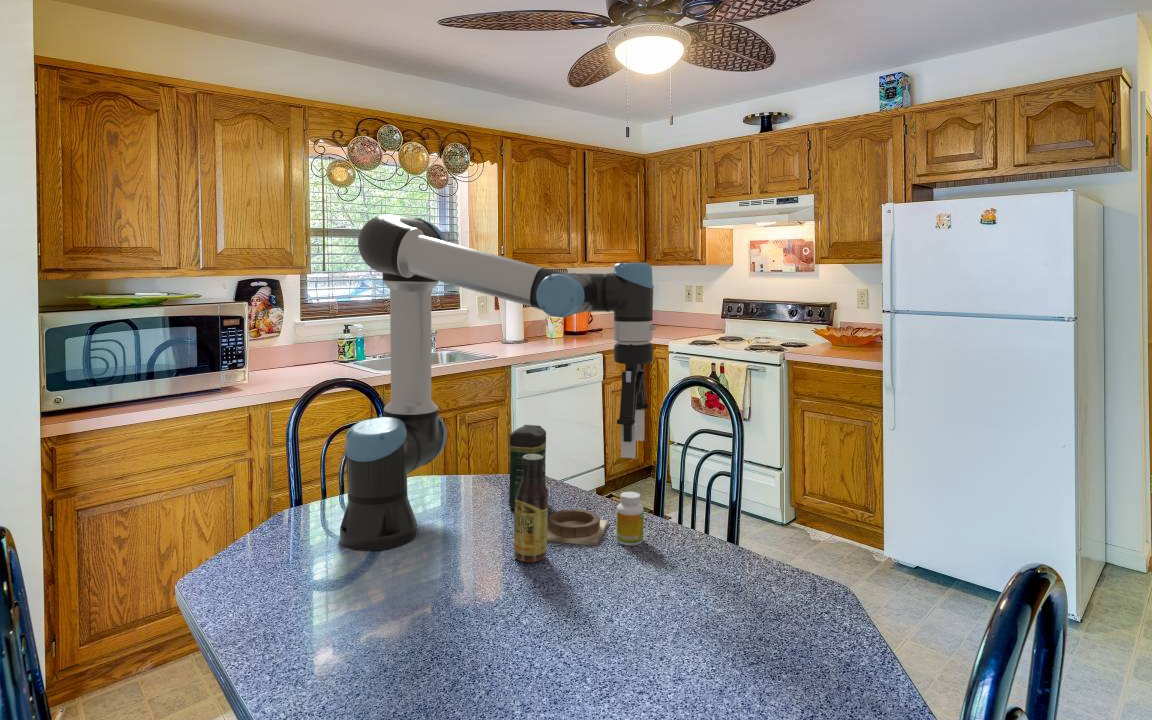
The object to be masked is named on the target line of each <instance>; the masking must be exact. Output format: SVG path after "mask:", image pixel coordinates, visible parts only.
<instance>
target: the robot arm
mask: <svg viewBox="0 0 1152 720" xmlns="http://www.w3.org/2000/svg"><path fill="white" fill-rule="evenodd" d="M444 235H445V234H443V232H442V231H441V230H440V229H439V227H438V226H436V225H435V224H434V223H432V222H430V221H427V220H425V219H424V218H417V217H411V216H410V217H408V216H400V215H396V214H395V215H394V214H381V215H377V216H375V217H373V218H370V219H369V220H368V221H367V222H366V223H365V224H364V225H363V227H362V228H361V229H360V232H359V234H358V239H357V245H358V252H359V255H360V256H361V259H362V261H364V263H365V264H366V266H368V267H369V268H371V269H372V270H374V271H376V272H379V273H382V283H383V284H385V286H386V287H387V288H388V289H389V291H390V292H389V294H390V295H389V297H390V298H389V307H390V308H389V309H390V311H389V316H390V317H389V318H390V319H389V320H390V321H389V322H390V324H389V325H390V327H389V328H390V332H389V333H390V334H389V335H390V337H389V338H390V400H389V402H388V403H387V404H386V405H384V407H383V417H374V418H372V419H364V420H362V421H359V422H357V423H355V424H354V425H352V426H351V427H350V428H348V430H347V432H346V435H345V445H344V452H345V461H346V464H345V465H346V466H345V467H346V485H347V486H346V487H347V505H346V508H345V511H344V514H343V517H342V522H341V525H340V527H339V540H340V543H341V544H342V545H343V546H344V547H346V548H349V549H352V550H358V551H359V550H360V551H381V550H388V549H392V548H396V547H399V546H402V545H405V544H407V543H409V542H411V541H413V540H414V539H415V538H416V536H417V535H418V522H417V518H416V516H415V513H414V510H413V508H412V506H411V502H410V500H409V495H408V494H409V493H408V474H410V473H412V472H413V471H416V470H417V469H419V468H421V467H424V466H426V465H429V464H430V463H431V462H433V460H435V459H436V458H437V457H438V456H439V455H440V454H441V452H442V451H444V448H445V445H446V443H447V434H448V433H447V427H446V423H444V420H442V419H441V417H440V415H439V406H438V405H437V404H436V403H435V402H434V401H433V400H432V290H433V289H434V288H435V287H437V285H438V284H439V282H441V283H445V284H448V285H451V286H454V287H457V288H458V287H459V288H463V289H465V290H466V289H467V290H470V291H473V292H477V293H480V294H484V295H488V296H491V297H496V298H499V299H503V300H505V301H510V302H513V303H516V304H520V305H524V306H527V307H531V308H533V309H534V308H535V309H537V310H540V311H542V312H544V313H545V314H547V315H548V316H550V317H557V318H568V317H570V316H572V315H576V314H577V315H578V314H581V313H587V312H588V313H589V312H591V313H593V312H594V313H598V312H600V313H601V312H603V313H604V312H606V313H607V312H608V313H610V312H612V313H613V340H614V341H615V342H616V343H615V344H614V345H613V348H614V349H613V360H614V362H615V363H617V364H621V365H622V364H624V365H625V369H624V370H623V371H621V394H620V406H619V418H618V419H616V424H617V425H620V458H622V459H636V455H637V454H636V452H637V448H636V446H637V445H636V444H637V443H636V442H637V441H638V442H644V441H645V410H648V408H649V403H646V402H647V400H646V392H645V391H646V390H645V368H644V367H645V364H650V363H652V362H653V357H654V356H653V352H654V349H653V348H654V347H653V344H652V343H651V341H652V340H653V331H656V330H657V327H656V325H654V324H653V319H654V317H653V316H654V315H653V313H654V312H653V311H654V306H653V305H654V287H655V286H654V283H653V268H652V265H651V264H649V263H647V262H617V263H615V264H614V266H613V271H612V272H609V273H606V272H605V273H579V272H578V273H576V272H567V273H565V272H562V271H558V270H556V269H555V270H553V269H551V268H546V267H542V266H538V265H535V264H531V263H528V262H527V263H526V262H524V261H521V260H516V259H513V258H509V257H506V256H505V257H504V256H502V255H497V254H495V253H491V252H486V251H482V250H478V249H475V248H472V247H467V246H464V245H459V244H457V243H453V242H448V241H447V240H446V237H445V236H444Z"/></svg>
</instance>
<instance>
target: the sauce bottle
mask: <svg viewBox="0 0 1152 720" xmlns="http://www.w3.org/2000/svg"><path fill="white" fill-rule="evenodd" d="M543 464H544V457H543V456H542V455H539V454H526V455H524V456H523V457H522V465H523V476H522V480H521V483H520V486H519V489H518V492H517V495H516V498H515V509H514V521H513V522H514V523H513V525H514V527H513V554H514V557H515V559H516V560H518V561H519V562H524V563H527V564H529V563H530V564H532V563H536V562H540V561H542V560H543V559H545V557H546V554H547V548H548V547H547V545H548V544H547V543H548V541H547V524H548V518H549V516H548V515H549V502H548V499H549V492H548V488H547V487H546V486H545V485H544V483H543V479H542V478H543V476H542V468H543Z"/></svg>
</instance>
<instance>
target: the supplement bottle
mask: <svg viewBox="0 0 1152 720" xmlns="http://www.w3.org/2000/svg"><path fill="white" fill-rule="evenodd" d="M619 500H620V503H619V504H618V505H617V507H616V530H615V531H616V533H615V534H616V535H615V537H616V542H617V543H619V544H620V545H622V546H628V547H629V546H631V547H632V546H638V545H640V544H642V543H644V542H643V541H644V512H645V511H644V506H643V505H642V504H641V494H640V493H638V492H636V491H623V492H621V493H620V499H619Z"/></svg>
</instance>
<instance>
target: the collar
mask: <svg viewBox="0 0 1152 720" xmlns="http://www.w3.org/2000/svg"><path fill="white" fill-rule="evenodd" d="M608 522H609V521H608V520H607V519H606V520H605V519H601V517H600V516H599V515H598V513H596V512H594V511H589V510H586V509H578V508H569V509H568V508H567V509H561V510H558V511H555V512H552V513H551V514H550V515H549V516H548V520H547V542H556V543H564V544H565V543H566V544H574V545H583V546H584V545H586V546H597V545H598V544H599V542H600V540H601V539H602V538H601V537H602V536H603V534H604V532H605V531H606V528H607V526H608V525H609V524H608Z"/></svg>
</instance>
